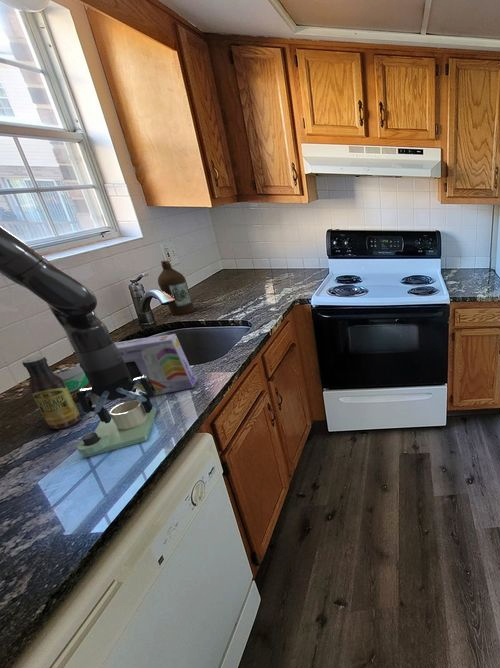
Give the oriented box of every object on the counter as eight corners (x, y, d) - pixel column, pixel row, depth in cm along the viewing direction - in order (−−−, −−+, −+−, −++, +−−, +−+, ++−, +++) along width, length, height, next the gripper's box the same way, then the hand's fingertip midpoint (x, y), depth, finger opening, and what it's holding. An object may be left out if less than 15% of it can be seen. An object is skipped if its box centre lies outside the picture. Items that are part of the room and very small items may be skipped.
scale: (78, 462, 86) (73, 452, 85) (99, 425, 98) (94, 416, 97) (145, 443, 91) (140, 434, 90) (156, 411, 103) (152, 402, 102)
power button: (84, 447, 86) (80, 440, 86) (87, 441, 89) (83, 434, 88) (97, 443, 88) (94, 437, 87) (101, 437, 90) (97, 431, 89)
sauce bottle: (47, 433, 96) (6, 368, 87) (55, 421, 100) (16, 358, 92) (80, 424, 99) (44, 360, 90) (86, 413, 104) (52, 351, 95)
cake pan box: (119, 402, 108) (92, 350, 100) (126, 393, 112) (101, 342, 104) (193, 389, 113) (173, 338, 106) (197, 381, 117) (178, 332, 110)
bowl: (114, 433, 93) (106, 417, 91) (121, 419, 98) (113, 404, 96) (145, 425, 95) (137, 410, 93) (150, 412, 101) (143, 397, 98)
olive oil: (165, 313, 176) (145, 262, 165) (188, 306, 184) (171, 257, 173) (177, 317, 171) (157, 264, 160) (200, 309, 179) (183, 259, 169)
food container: (58, 411, 105) (40, 381, 100) (46, 407, 107) (28, 378, 102) (107, 388, 115) (93, 361, 111) (95, 385, 117) (81, 358, 113)
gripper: (141, 349, 95) (164, 401, 102) (70, 363, 89) (99, 417, 96) (135, 362, 89) (159, 415, 96) (57, 377, 83) (89, 433, 90)
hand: (129, 416), depth 96 cm, fingers open, 8 cm apart
